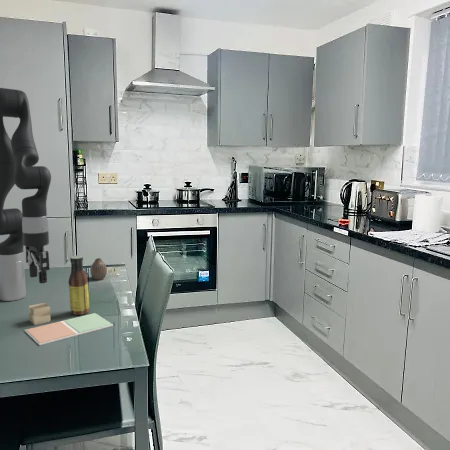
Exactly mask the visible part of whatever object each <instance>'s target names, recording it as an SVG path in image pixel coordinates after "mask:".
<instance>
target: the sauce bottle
mask: <svg viewBox="0 0 450 450" xmlns="http://www.w3.org/2000/svg"><path fill="white" fill-rule="evenodd" d="M69 260H70V261H69V262H70V265H71V267H70V274H69V278H68V283H67V284H68V293H69V295H68V296H69V308H70V312H71V314H72V315H74V316H83V315H87V314H88V313H89V312H90V298H89V297H90V295H89V282H88V275H87V273H86V272H85V270H84V266H83V265H84V263H83V261H84V257H83V255H71V257H70V259H69Z"/></svg>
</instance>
